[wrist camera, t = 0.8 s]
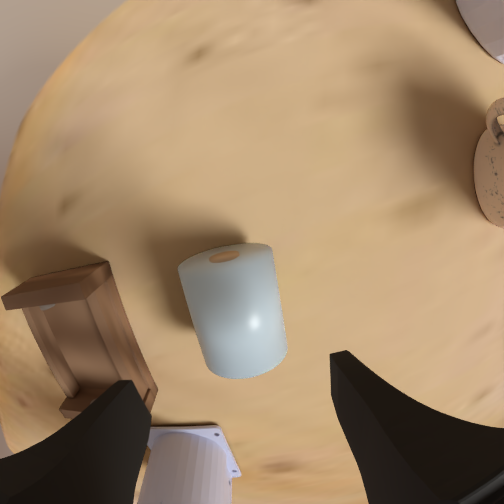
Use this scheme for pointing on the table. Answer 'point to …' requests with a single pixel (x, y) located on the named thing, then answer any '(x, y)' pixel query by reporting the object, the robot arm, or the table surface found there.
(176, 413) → the table surface
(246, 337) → the roll
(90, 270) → the holder
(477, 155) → the beige mug
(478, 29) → the soap bottle
